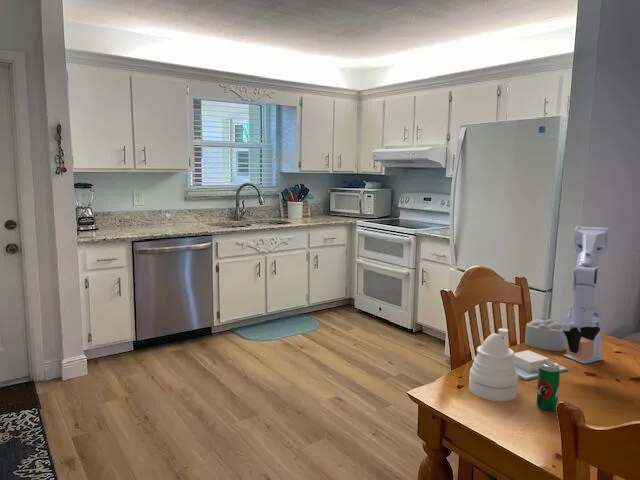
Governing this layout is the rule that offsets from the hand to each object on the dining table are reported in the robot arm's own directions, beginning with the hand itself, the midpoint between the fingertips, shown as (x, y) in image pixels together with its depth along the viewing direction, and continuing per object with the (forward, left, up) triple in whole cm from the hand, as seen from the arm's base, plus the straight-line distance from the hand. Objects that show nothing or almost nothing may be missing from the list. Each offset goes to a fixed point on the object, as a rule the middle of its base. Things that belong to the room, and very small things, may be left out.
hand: (579, 350), depth 146 cm
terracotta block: (0, 0, -2) cm, 2 cm away
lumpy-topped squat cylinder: (-15, -24, -9) cm, 30 cm away
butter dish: (+7, -12, -8) cm, 16 cm away
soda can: (+25, +10, -9) cm, 28 cm away
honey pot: (+30, -4, -9) cm, 31 cm away
